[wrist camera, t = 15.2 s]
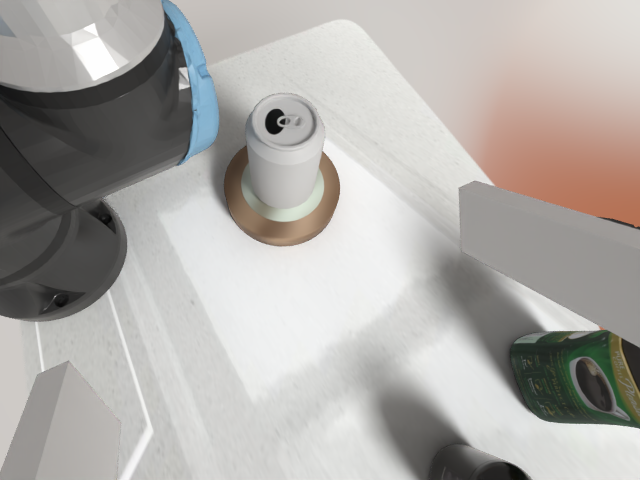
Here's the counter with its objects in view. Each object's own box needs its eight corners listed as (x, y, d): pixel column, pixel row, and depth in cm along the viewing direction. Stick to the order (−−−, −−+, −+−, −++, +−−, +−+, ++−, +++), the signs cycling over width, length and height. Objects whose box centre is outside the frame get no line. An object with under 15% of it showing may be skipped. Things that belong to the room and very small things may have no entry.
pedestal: (210, 227, 43) (206, 217, 40) (248, 136, 48) (246, 121, 45) (320, 259, 43) (324, 251, 40) (346, 166, 48) (351, 153, 45)
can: (257, 153, 44) (251, 78, 32) (317, 162, 44) (331, 92, 33) (246, 207, 41) (236, 146, 30) (310, 216, 42) (323, 160, 30)
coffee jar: (587, 409, 41) (815, 440, 24) (528, 426, 40) (727, 472, 22) (553, 326, 44) (733, 300, 27) (497, 339, 43) (651, 320, 25)
